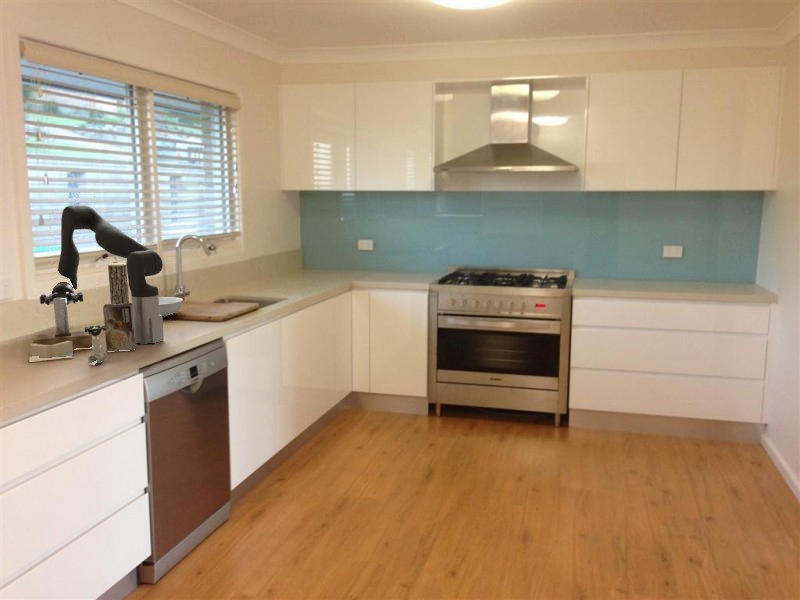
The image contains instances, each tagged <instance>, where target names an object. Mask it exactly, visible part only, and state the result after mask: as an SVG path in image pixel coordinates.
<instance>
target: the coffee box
mask: <svg viewBox="0 0 800 600" xmlns="http://www.w3.org/2000/svg"><path fill="white" fill-rule="evenodd" d="M102 312H103V313H102V314H103V321H104V322H103V323H104V326H106V330H105V331H104V334H105V345H106V352H107V351H119V350H134V349H135V350H136V348H137V346H136V345H137V344H136V343H135V334H134V323H133V311H132V302H129V303H122V304H111V303H107V304H104V305H103V307H102ZM135 347H136V348H135Z"/></svg>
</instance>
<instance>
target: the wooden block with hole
mask: <svg viewBox="0 0 800 600" xmlns="http://www.w3.org/2000/svg"><path fill="white" fill-rule="evenodd" d="M65 341H72V346H73V349H76V348H90V347H92V346H93V336H92V335H90V334H89V333H88V331H87V332H85V330H81V331H69V336H65V337H57V334H56V333H45V334H36V335H34V336H33V339H32V342H33V343H32V344H42V345H54V344H58V343H61V342H65Z"/></svg>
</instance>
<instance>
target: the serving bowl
mask: <svg viewBox="0 0 800 600" xmlns="http://www.w3.org/2000/svg"><path fill="white" fill-rule="evenodd" d="M183 304H184V299H183V298H181V297H177V296H176V297H174V296H163V297H162V296H161V297H160V296H159V311H160V315H162V316H166V315H170V314H172V315H174V314H173V313H175V314H177V313H178V312H179V311H180V310H181V309H182V308H183ZM170 316H171V315H170Z"/></svg>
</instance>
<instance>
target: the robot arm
mask: <svg viewBox="0 0 800 600" xmlns="http://www.w3.org/2000/svg"><path fill="white" fill-rule="evenodd" d="M60 224H61V225H60V226H61V227H60V229H61V231H60V240H61V242H60V243H61V244H60V248H61V249H60V256H59V261H58V266H57V272H58V271H59V273H60V274H61V275H60V274H59V273H58V274H59V275H60V276H62V277H63V278H66V277H67V278H66V279H68V278H69V279H70V281H71V283H72V285H73V287H72V286H71V285H70V284H69V283H67V282H60V283H58V284H57V285H56V286H55V287H54V288H53V291H52V294H51V293H50V294H49V295H48V296H47V295H46V294H44V293H43V294H40V296H39V303H40V304H41V305H47V306H50V304H53V305H54V301H53V299H54V298H66V301H67V306H68V305H70V304H76V303H79V302H81V303H82V302H84V294H83V292H81V291H80V292H78V293H77V295H75V294H74V291H73V288H74V289H75V290H76V289H77V281H78V268H79V265H80V252H79V249H78V248H77V246H76V244H75V241H74V233H75V231H76V230H79V231H80V230H89V231H92V232H94V238H95V242H96V244H97V245H98V246H99V247H100V248H101V249H103V250H104V251H106V252H107V253H109V254H110V255H113V256H117V257H119V258H123V259H126V262H125V263H126V268H127V282H128V289H129V291H130V296H131V303H132V311H133V323H134V334H135V344H136V343H141V344H140V345H148V344H147V343H155V344H157V343H156V342H158V343H160V341H161V342H164V341H163V340H165V339H164V321H163V320H164V319H163V317H162V315H160V311H159V297H160V296H159V288H158V286H156V285H152V284H149V283H148V282H147V279H146V277H153V276H156V275H158V274H159V273H161V272H162V270H163V267H164V265H163V264H164V263H163V260H162V258H161V256H160V255H159V254H158V252H156V251H155V250H153V249H152V248H149V247H147V246H145V245H143V244H142V243H139V242H138V241H137V240H135V239H134V238H132V237H131V236H129V235H127V234H126V233H125V232H123V231H122V230H120V229H119V228H118V227H116V226H115V225H113V224H111V222H109V221H107V220H106V219H105V218H104V217H102V216H101V215H100V214H99V213H98V212H97V211H96V210H95V209H94V208H93V207H91V206H89V205H67V206H65V207H64V208H63V210H62V213H61V220H60Z"/></svg>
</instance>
